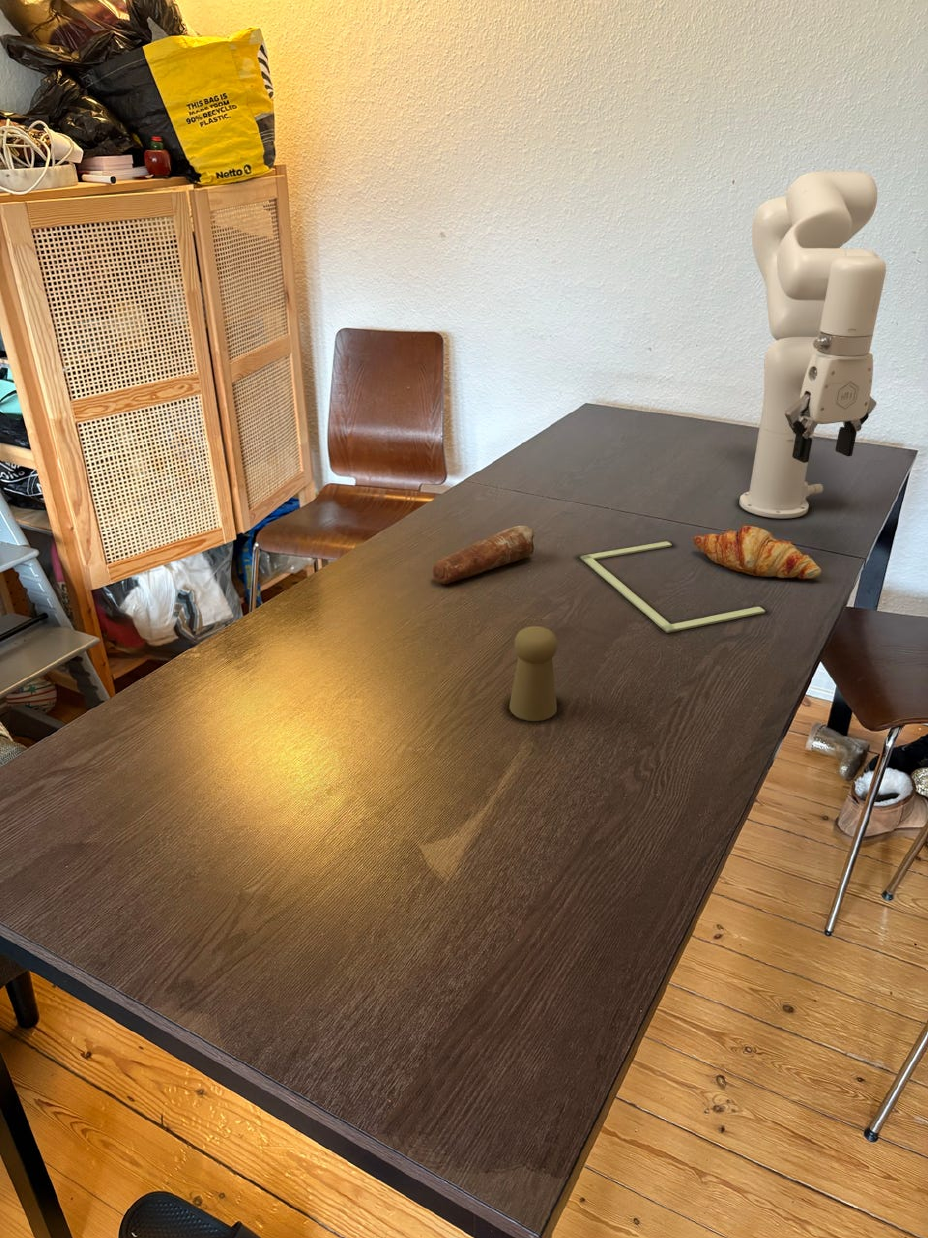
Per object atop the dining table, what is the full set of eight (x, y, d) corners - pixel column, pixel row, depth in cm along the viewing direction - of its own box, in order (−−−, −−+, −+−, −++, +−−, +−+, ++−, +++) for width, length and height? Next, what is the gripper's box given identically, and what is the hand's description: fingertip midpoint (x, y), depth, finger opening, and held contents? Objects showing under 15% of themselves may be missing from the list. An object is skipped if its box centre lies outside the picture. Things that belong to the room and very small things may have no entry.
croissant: (818, 593, 149) (833, 546, 149) (811, 589, 140) (826, 539, 140) (694, 562, 159) (707, 518, 158) (680, 556, 150) (694, 509, 149)
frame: (666, 543, 159) (667, 541, 159) (764, 612, 137) (765, 610, 137) (580, 558, 154) (580, 555, 154) (667, 633, 131) (667, 630, 131)
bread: (537, 560, 153) (538, 530, 150) (445, 591, 143) (444, 559, 141) (513, 548, 158) (514, 518, 155) (422, 577, 148) (421, 546, 145)
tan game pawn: (506, 695, 117) (508, 621, 112) (552, 692, 118) (556, 618, 113) (512, 722, 112) (514, 645, 107) (560, 719, 113) (565, 643, 107)
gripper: (812, 354, 131) (792, 471, 139) (907, 344, 136) (882, 457, 144) (779, 344, 137) (761, 456, 145) (871, 335, 142) (849, 443, 151)
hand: (821, 456), depth 145 cm, fingers open, 7 cm apart
